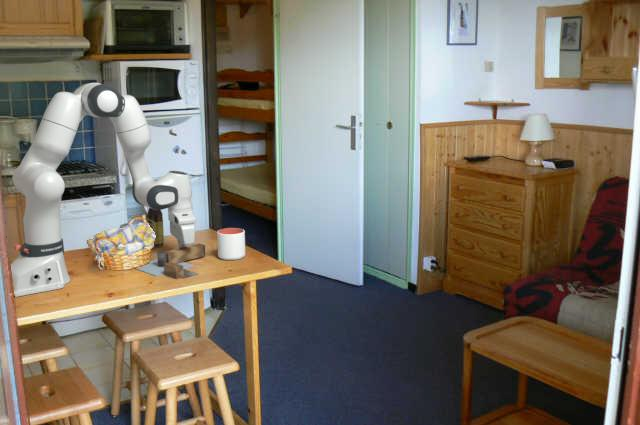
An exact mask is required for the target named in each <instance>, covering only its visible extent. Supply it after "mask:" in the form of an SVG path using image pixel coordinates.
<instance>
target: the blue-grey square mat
mask: <svg viewBox="0 0 640 425" xmlns="http://www.w3.org/2000/svg"><path fill="white" fill-rule="evenodd" d="M149 262H150V263H149V264H147V265H144V266H142V267H138V268H136V269H135V270H137V269H138V270H137V271H140V272H143V273H146V274H149V275H151V276H153V277H160V276H163V275H164V266H158V259H154V260H151V261H149ZM176 264H179V265H182V266H183V269H186V270H187V269H190V268H193V267H195V265H194V264H192V263H188V262H186V261H183V262H179V263H176ZM164 276H165V275H164Z"/></svg>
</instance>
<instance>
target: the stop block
mask: <svg viewBox="0 0 640 425" xmlns="http://www.w3.org/2000/svg"><path fill="white" fill-rule="evenodd" d="M197 275H199V273H197V272H195V271H192V270H188V269H187V268H186V269H183V266H182V265H179V264H176V263H173V262H168V263H164V276H166V277H169V278H171V279H175V280H179V279H186V278H190V277H193V276H197Z"/></svg>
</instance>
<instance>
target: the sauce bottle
mask: <svg viewBox="0 0 640 425" xmlns="http://www.w3.org/2000/svg"><path fill="white" fill-rule="evenodd" d="M145 218H146V223H147V222H148V223H149V225H150V227H151V228H152V229H153V231H154V232H155V235H156V238H155V241H154V248H162V247H164V245H165V244H164V242H165V237H164V236H165V235H164V233H165V232H164V219H163V218H164V217H163V211H162V210H154V209H151V208H149V207H148V211H147V214H146V217H145Z"/></svg>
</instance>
